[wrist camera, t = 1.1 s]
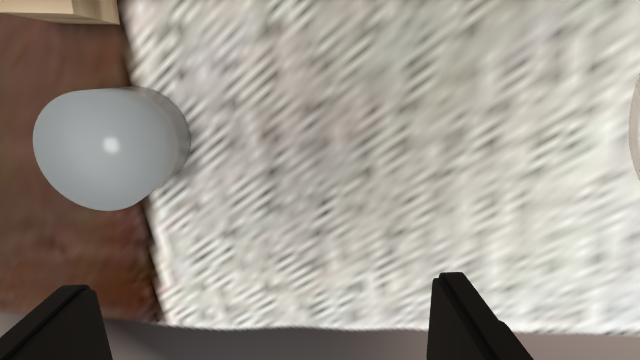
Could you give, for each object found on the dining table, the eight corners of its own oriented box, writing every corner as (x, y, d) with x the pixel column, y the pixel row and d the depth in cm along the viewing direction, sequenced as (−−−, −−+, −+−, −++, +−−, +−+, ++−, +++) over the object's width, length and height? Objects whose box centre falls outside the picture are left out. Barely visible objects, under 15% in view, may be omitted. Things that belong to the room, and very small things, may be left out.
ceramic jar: (83, 85, 31) (19, 89, 24) (185, 87, 31) (151, 91, 24) (100, 182, 34) (47, 210, 27) (195, 183, 34) (166, 211, 27)
